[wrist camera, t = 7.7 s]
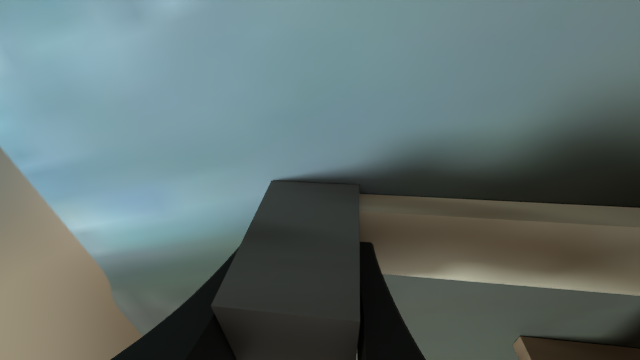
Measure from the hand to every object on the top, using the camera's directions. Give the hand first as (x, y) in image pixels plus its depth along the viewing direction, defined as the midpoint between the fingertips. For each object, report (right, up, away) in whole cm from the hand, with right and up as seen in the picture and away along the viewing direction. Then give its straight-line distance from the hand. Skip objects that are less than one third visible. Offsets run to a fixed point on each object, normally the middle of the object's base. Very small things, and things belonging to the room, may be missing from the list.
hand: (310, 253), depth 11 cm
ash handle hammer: (+7, +1, +1) cm, 7 cm away
